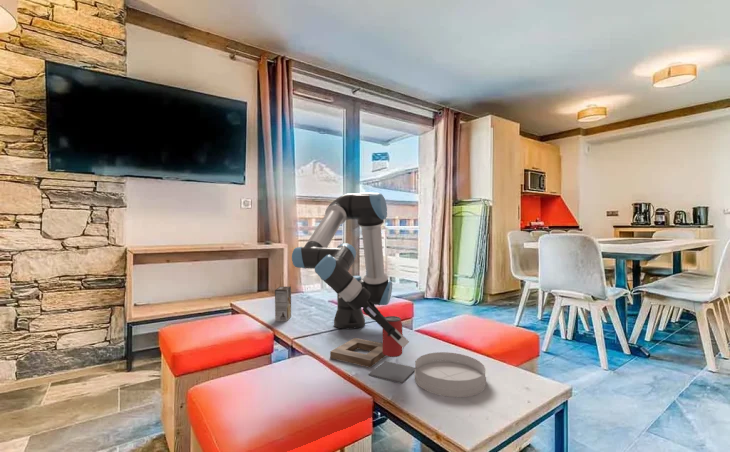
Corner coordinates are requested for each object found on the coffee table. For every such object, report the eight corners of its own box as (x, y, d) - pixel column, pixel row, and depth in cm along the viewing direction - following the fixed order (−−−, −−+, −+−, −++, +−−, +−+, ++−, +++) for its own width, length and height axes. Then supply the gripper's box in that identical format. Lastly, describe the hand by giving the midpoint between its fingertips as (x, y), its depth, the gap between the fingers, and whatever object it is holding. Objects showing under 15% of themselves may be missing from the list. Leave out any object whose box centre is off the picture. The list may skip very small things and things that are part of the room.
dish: (400, 374, 118) (400, 359, 117) (451, 361, 128) (451, 347, 128) (446, 405, 98) (446, 387, 98) (501, 387, 109) (501, 370, 109)
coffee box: (279, 316, 188) (279, 286, 187) (291, 316, 188) (291, 286, 187) (274, 321, 179) (274, 289, 178) (287, 321, 178) (287, 289, 178)
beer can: (401, 358, 114) (401, 321, 114) (381, 357, 116) (381, 320, 116) (403, 351, 121) (403, 316, 121) (384, 349, 122) (384, 315, 122)
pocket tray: (354, 343, 146) (354, 337, 146) (391, 351, 137) (391, 345, 137) (330, 357, 131) (330, 351, 131) (370, 367, 123) (370, 360, 123)
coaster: (385, 362, 127) (385, 361, 127) (416, 369, 121) (416, 367, 121) (368, 375, 117) (368, 373, 117) (401, 383, 111) (401, 382, 111)
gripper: (343, 296, 125) (388, 339, 128) (350, 310, 106) (403, 360, 109) (358, 280, 126) (402, 324, 129) (367, 291, 107) (419, 342, 110)
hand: (402, 340), depth 119 cm, fingers closed on beer can, 7 cm apart
